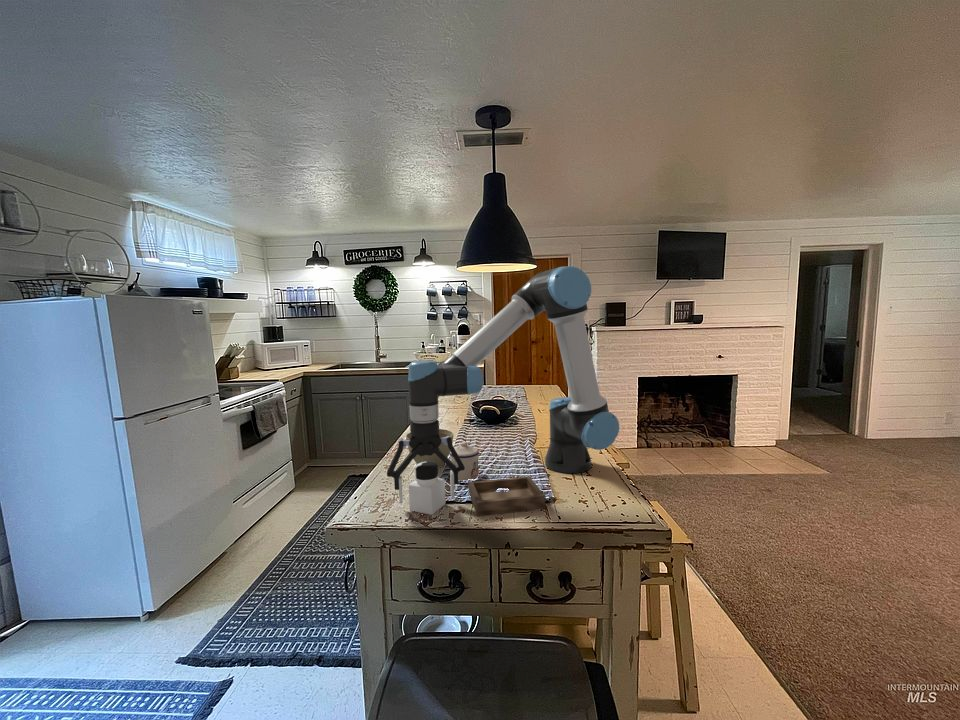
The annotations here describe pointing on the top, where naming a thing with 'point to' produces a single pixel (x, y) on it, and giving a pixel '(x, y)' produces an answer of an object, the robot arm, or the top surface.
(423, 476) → the medicine bottle
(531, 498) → the holder tray
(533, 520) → the top surface
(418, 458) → the planter bowl
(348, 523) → the top surface
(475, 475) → the teacup with lid
